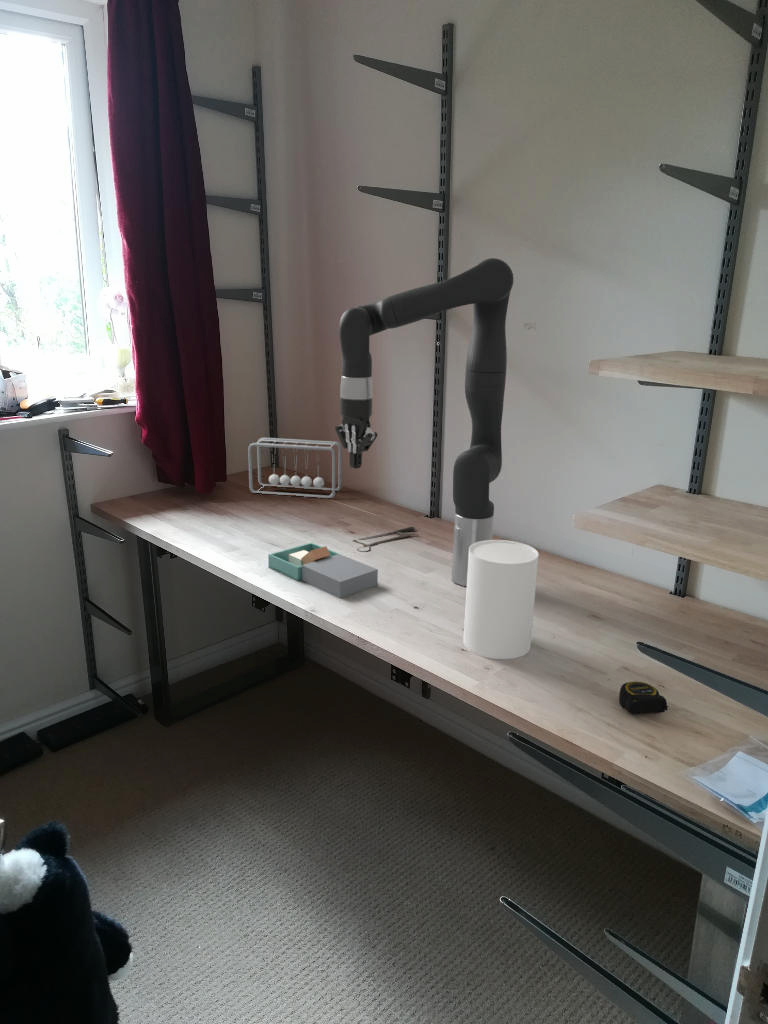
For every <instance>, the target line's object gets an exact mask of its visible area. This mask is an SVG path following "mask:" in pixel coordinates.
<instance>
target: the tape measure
mask: <svg viewBox="0 0 768 1024" xmlns="http://www.w3.org/2000/svg"><path fill="white" fill-rule="evenodd" d="M618 702H619V705H620V706H621V708H623V709H624V710H626V712H627V713H628V714H631V715H633V716H635V715H636V716H639V715H647V714H660V713H661V714H662V713H664V712H665V711H668V710H669V709H668V708H669V706H668V703H667V700H666V698H665V697H664V696H663V695H661V694H660V692H659V690H658V689H657V687H655V686H653V685H652V684H650V683H646V682H642V681H628V682H625V683H623V684H622V685H621V686H620V689H619V696H618Z"/></svg>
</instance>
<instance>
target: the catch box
mask: <svg viewBox="0 0 768 1024" xmlns="http://www.w3.org/2000/svg"><path fill="white" fill-rule="evenodd" d="M322 547H323V546H321V545H319V544H317V543H314V542H308V543H306V544H305V543H304V544H302V545H298V546H294V547H291V548H287V549H284V550H283V549H282V550H280V551H275V552H273V553H269V554H268V557H267V559H268V568H269V569H271V570H273V571H275V572H277V573H280V574H282V575H283V576H285V577H288V578H290V579H293V580H295V581H296V582H300V581H302V565H301V566H296V565H294V564H292V563H289V554H292V553H296V552H299V551H303V550H305V551H307V552H310V551H311V550H315V549H318V548H322ZM327 549H328V551H329V553H330V556H329V557H331V556H334V555H338V554H340V553H339V552H337V551H333V550H331V549H329V548H327ZM327 558H328V557H327Z"/></svg>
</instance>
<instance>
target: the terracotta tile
mask: <svg viewBox="0 0 768 1024" xmlns="http://www.w3.org/2000/svg"><path fill="white" fill-rule="evenodd" d="M328 549H329V548H328V546H327V545H324V546H322V548H318V549H315V550H311V551H310V552H308V553H307V554H306V555H305V556H304V557H302V558H301V560H302V562H303V564H308V563H311V562H314V561H318V560H321V559H324V558H327V557H329V556H330V553H329V551H328Z"/></svg>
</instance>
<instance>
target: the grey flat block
mask: <svg viewBox="0 0 768 1024" xmlns="http://www.w3.org/2000/svg"><path fill="white" fill-rule="evenodd" d="M378 572H379V570H378V568H375V567H373V566H370V565H368V564H366V563H364V562H361V561H358V560H356V559H353V558H351V557H348V556H346V555H343V554H342V553H341V554H340V553H339V554H338V555H334V556H331V557H328V558H324V559H321V560H318V561H314V562H311V563H308V564H304V565H302V580H301V581H302V582H303V583H306V584H309V585H311V586H313V587H315V588H318V589H319V590H321V591H324V592H326V593H328V594H329V595H333V596H334V597H337V598H339V599H341V598H344V597H347V596H350V595H353V594H355V593H358V592H362V591H363V590H367V589H370V588H373V587H376V586H378V583H379V582H378V579H379V578H378V576H379V573H378Z"/></svg>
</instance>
